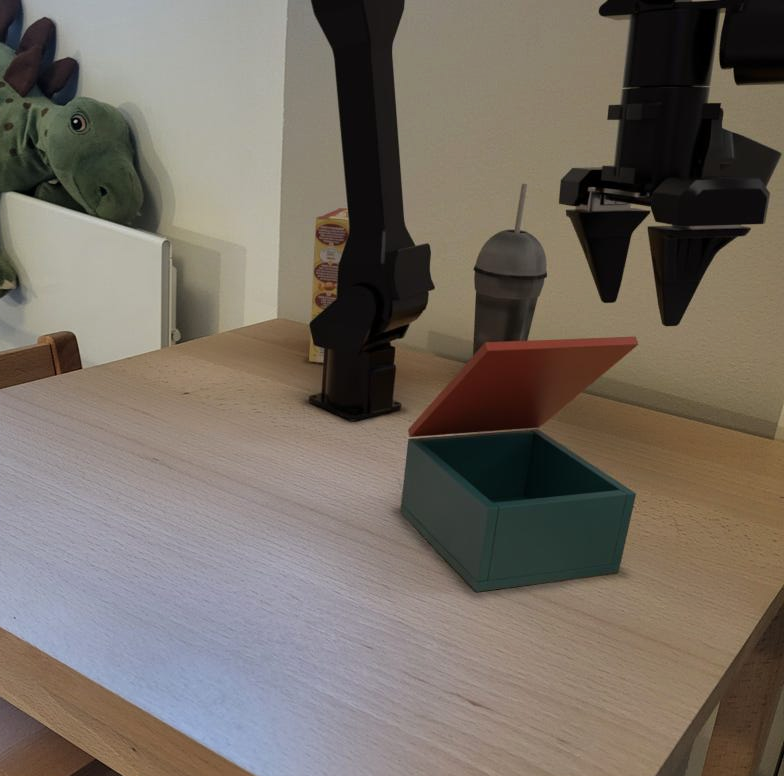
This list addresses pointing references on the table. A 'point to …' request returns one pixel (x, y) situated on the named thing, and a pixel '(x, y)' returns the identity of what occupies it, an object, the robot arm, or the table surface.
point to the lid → (519, 384)
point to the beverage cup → (508, 284)
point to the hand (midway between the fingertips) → (637, 313)
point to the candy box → (326, 265)
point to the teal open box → (515, 508)
